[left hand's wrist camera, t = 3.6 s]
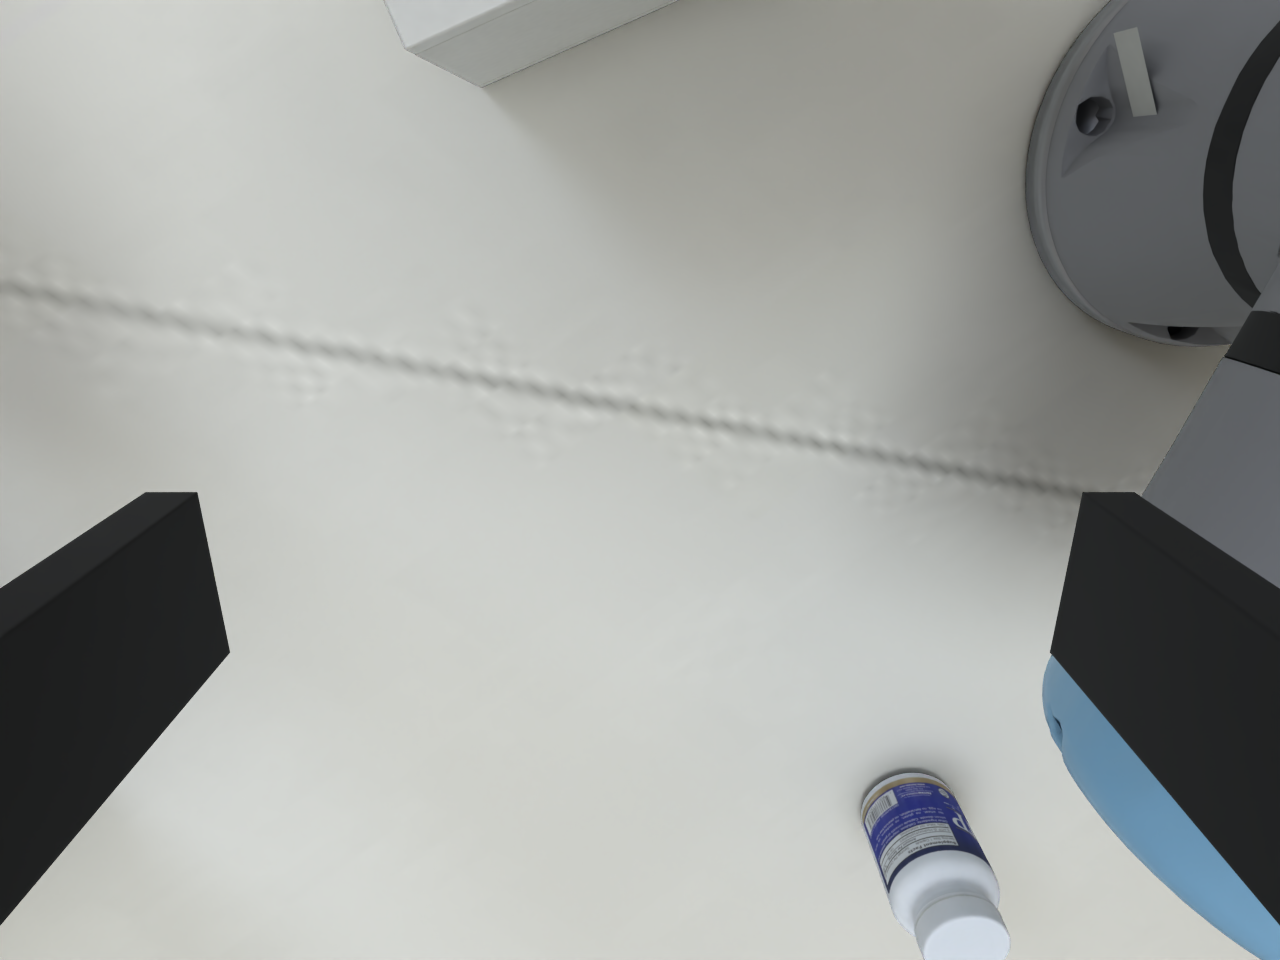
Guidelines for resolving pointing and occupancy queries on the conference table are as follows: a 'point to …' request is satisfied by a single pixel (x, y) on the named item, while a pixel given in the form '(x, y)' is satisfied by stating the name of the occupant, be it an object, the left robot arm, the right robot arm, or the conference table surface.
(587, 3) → the chest
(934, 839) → the pill bottle
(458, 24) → the lid
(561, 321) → the conference table surface
